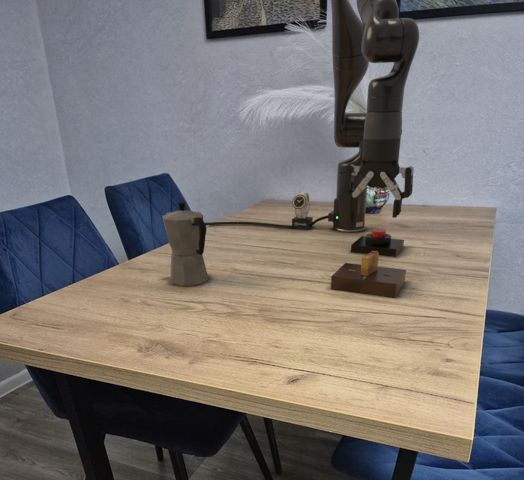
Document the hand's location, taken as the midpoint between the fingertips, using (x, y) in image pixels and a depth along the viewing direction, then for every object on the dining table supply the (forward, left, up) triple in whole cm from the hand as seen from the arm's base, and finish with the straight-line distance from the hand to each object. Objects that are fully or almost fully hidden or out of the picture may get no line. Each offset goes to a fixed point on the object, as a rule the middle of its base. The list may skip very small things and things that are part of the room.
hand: (375, 215), depth 105 cm
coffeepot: (-38, -19, -14) cm, 45 cm away
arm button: (-4, +21, -10) cm, 23 cm away
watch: (-33, +38, -14) cm, 52 cm away
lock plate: (+1, -7, -14) cm, 16 cm away
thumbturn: (+1, -7, -11) cm, 13 cm away
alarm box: (-4, +21, -14) cm, 25 cm away
